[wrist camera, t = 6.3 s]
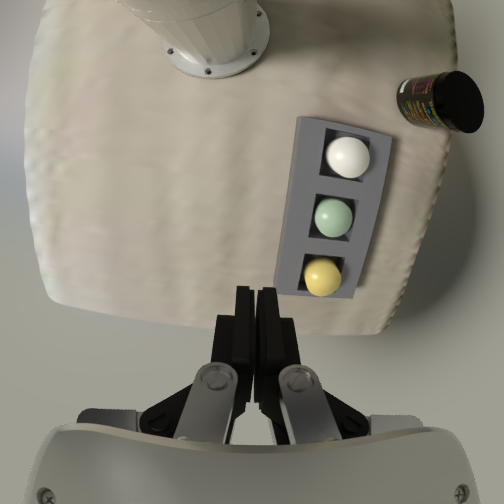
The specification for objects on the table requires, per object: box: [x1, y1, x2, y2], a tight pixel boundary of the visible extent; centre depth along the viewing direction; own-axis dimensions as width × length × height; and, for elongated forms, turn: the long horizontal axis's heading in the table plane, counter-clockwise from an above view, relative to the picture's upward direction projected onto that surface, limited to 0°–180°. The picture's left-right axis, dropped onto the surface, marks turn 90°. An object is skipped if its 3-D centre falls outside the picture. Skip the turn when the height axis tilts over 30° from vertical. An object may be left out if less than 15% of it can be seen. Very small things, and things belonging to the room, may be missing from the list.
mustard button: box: [303, 256, 341, 296], centre depth 34 cm, size 4×4×2 cm
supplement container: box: [397, 71, 484, 133], centre depth 22 cm, size 7×7×10 cm
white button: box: [325, 136, 370, 178], centre depth 27 cm, size 4×4×2 cm
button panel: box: [273, 116, 392, 298], centre depth 32 cm, size 22×11×3 cm, turn 174°
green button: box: [312, 196, 352, 237], centre depth 32 cm, size 4×4×2 cm
